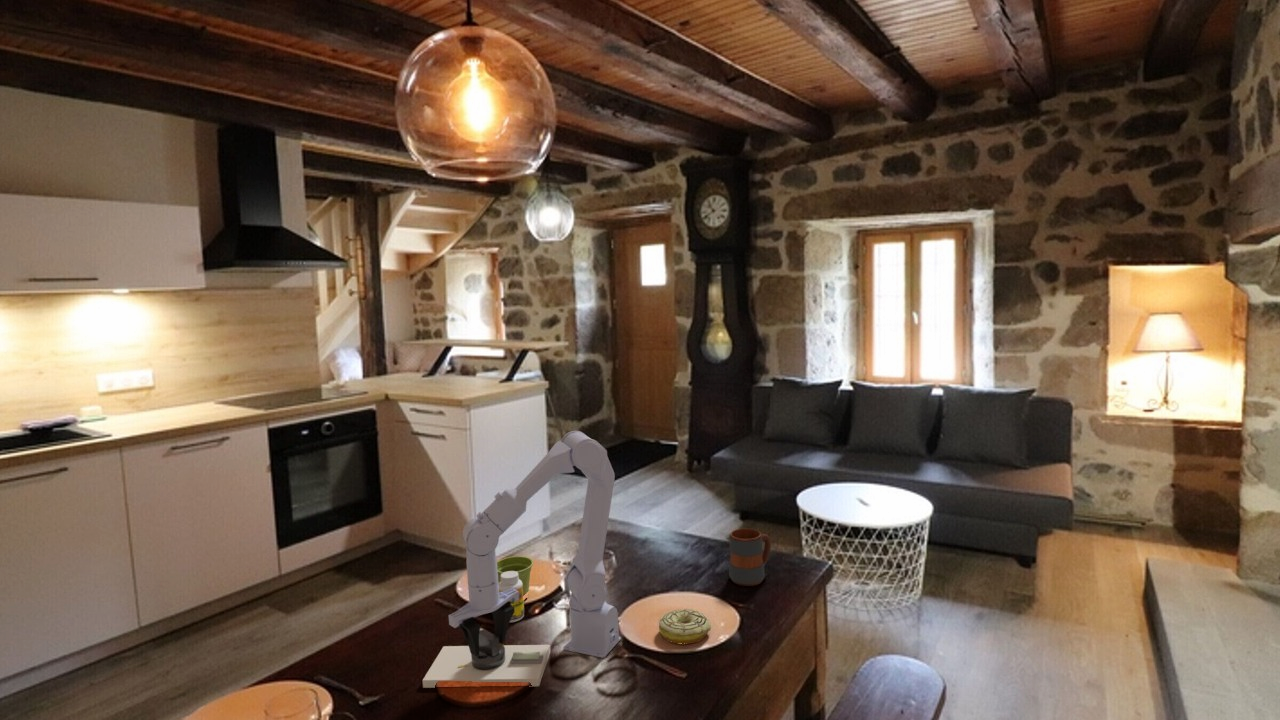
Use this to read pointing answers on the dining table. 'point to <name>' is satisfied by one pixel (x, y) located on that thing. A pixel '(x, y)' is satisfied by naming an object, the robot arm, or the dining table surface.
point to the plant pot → (516, 569)
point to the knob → (488, 652)
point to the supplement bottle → (512, 582)
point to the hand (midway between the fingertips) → (487, 647)
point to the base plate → (517, 667)
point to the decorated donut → (684, 626)
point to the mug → (748, 556)
